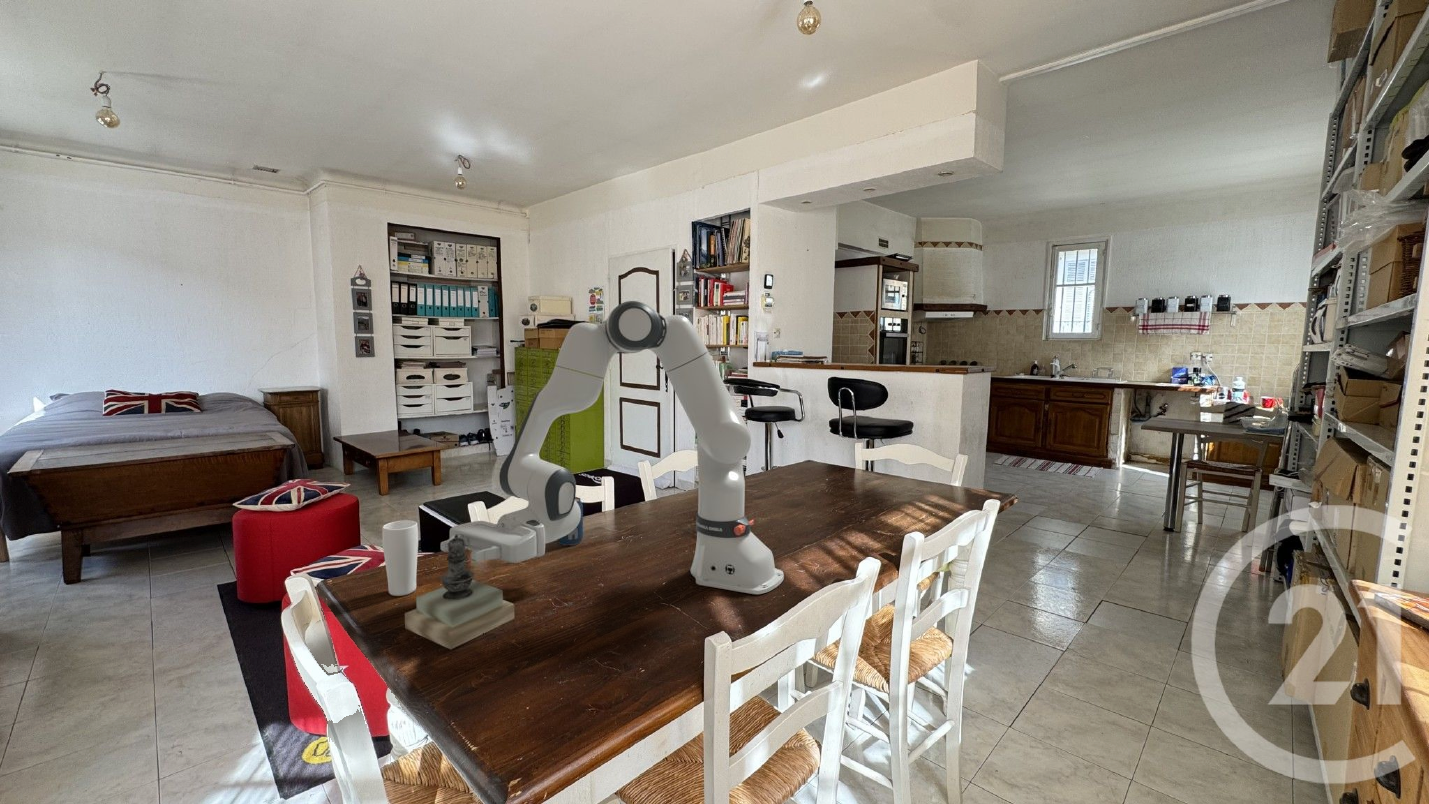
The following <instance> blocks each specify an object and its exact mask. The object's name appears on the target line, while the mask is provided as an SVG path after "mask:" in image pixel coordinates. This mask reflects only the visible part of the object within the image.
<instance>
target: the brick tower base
mask: <svg viewBox="0 0 1429 804" xmlns="http://www.w3.org/2000/svg"><path fill="white" fill-rule="evenodd" d="M468 588H469V589H471V590H472V591H473V593H472V595H471V596H469V597H467V598H464V599H461V600H446V599H444V598H443V594H444V593H445V592H447V591H448V590H447V589H445V588H444V586H441V587H439V588H438V589H437V588H436V589H434V590H432V591H428V592H426V593H424V594H421V595H418V596H416V598H415V599H416V602H415V603H416V608H415V609H412V610H410V611H408V612H404V625H405V626H404V629H405V630H408V631H410V632H412V633H414V634H417V635H418V636H421V637H423V638H425V639H427V640H429V641H430V642H434V643H436V644H438V645H440V646H442V647H445V648H447V649H448V650H453V649H455V648H456V647H458V646H461V645H464V644H465V643H467V642H469V641H471V640H473V639H475V638H478V637H479V636H481V635H484V634H485V633H488V632H490V631H491V630H494V629H496V628H498V627H500V626H502V625H504V624H506V623H508V622H510V621H513V620H514V619H515V604H514V603H512V602H511V601H510V602H509V601H507V600H504V595H503V593H504V591H503V589H500V588H498V587H494V586H491V585H489V584H486V583H483V582H481V581H477V580H474V579H472V582H471V584H470V586H469V587H468ZM483 633H484V634H483Z"/></svg>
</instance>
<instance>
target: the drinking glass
mask: <svg viewBox="0 0 1429 804" xmlns="http://www.w3.org/2000/svg"><path fill="white" fill-rule="evenodd" d="M382 550H383V556H384V557H383V558H384V564H385V570H386V576H387V577H386V578H387V585H388V593H389V595H391V596H393V597H401V596H406V595H409V594H412V593H413V592H415V591H416V589H417V570H418V568H417V567H418V552H419V551H418V550H419V528H418V522H416V521H415V520H405V519H403V520H397V521H392V522H389V523H386V524H384V525H383V526H382Z"/></svg>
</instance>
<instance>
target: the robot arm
mask: <svg viewBox="0 0 1429 804" xmlns="http://www.w3.org/2000/svg"><path fill="white" fill-rule="evenodd" d="M644 350H650V351H651V352H652V353H654V354H655V355H656V357H657V358H658V360H659V361H660V363H661V366H662V367H663V370H664V371H665V374H666V376H667V378H668V380H669V383H670V384H671V386H672V388H673V390H674V392H675V395H676V396H677V398H678V400H679V402H680V404H681V406H682V408H683V410H684V412H685V413H686V416H687V417H688V420H689V422H690V424H691V426H692V427H693V429H694V431H695V434H696V447H697V448H696V450H697V453H696V454H697V455H696V456H697V473H698V475H697V476H698V506H697V507H698V509H697V513H696V520H695V524H696V525H695V529H696V530H695V532H696V535H697V536H696V546H695V552H694V557H693V560H692V564H691V567H690V574H691V575H692V576H693V577H694V578H695V584H696V585H698V586H704V587H710V588H715V589H716V588H717V589H723V590H728V591H733V592H740V593H746V594H750V595H751V594H752V595H762V594H765V593H768V592H771V591H772V590H774V589H776V588H777V587H778V586H780V584H782V582H783V581H784V578H785V575H784V571H783V570H782V569H779V568H776V566H775V560H774V555H773V552H772V550H771V549H770V548H769V547H767V546H766V545H765V544H764V543H763V542H762V541H761V540H760V539H759V538H758V536H756V535H755V534H754V533H753V532H752V531H751V526H753V525H754V524H755V523H754V521H755V519H752V520H749V519H748V517H747V515H746V514H745V497H746V496H745V492H746V491H745V490H746V489H745V488H746V481H745V475H744V465H743V460H744V458H745V457H747V455H748V453H749V452H750V449H751V444H752V438H751V432H750V430H749V427H748V425H747V423H746V422H745V420H744V418H743V416H742V414H741V412H740V410H739V408H738V406H737V404H736V402H735V401H734V399H733V397H732V395H731V394H730V391H729V390H728V388H727V386H726V384H725V382H724V380H723V379H722V377H721V375H720V373H719V370H718V368H717V367H716V365H715V362H714V360H713V358H712V357H711V354H710V352H709V350H708V348H707V346H706V344H705V342H704V341H703V339H702V336H701V335H700V333H699V332H698V331H697V330H696V327H694V325H693V324H692V322H691V321H690V320H689V318H687V317H686V316H684V315H681V314H672V315H668V316H666V317H665V316H663V315H662V314H660V313H659V312H657V311H656V310H654V309H653V308H651V306H649V305H647V304H645V303H643V302H641V301H638V300H627V301H623V302H622V303H620V304H618V305H617V306H616V307H614V308H613V309H612V310H611V312H610V313H609V314H608V316H607V317H606V319H605V320H604V321H603V322H602V323H600V324H599V323H598V324H597V323H596V324H595V323H592V322H579V323H575V324H574V325H572V326H571V327H570V328H569V330H568V332H567V334H566V336H565V337H564V340H563V342H562V345H561V348H560V349H559V353H558V355H557V359H556V362H555V366H554V368H553V371H552V373H551V376H550V378H549V380H548V381H547V383H546V385H545V386H543V388H541V389H540V390H539V391H538V392H537V393H536V394H535V395H534V398H533V399H532V401H531V403H530V405H529V408H528V409H527V413H526V414H525V417H524V419H523V422H522V425H521V427H520V429H519V432H518V434H517V437H516V439H515V441H514V444H513V446H512V448H511V449H510V452H509V453H508V455H507V456H506V458H505V459H504V461H503V463H502V465H501V467H500V470H499V475H498V477H499V478H498V479H499V484H500V485H499V486H500V487H501V489H502V491H503V492H504V494H506V495H507V496H510V497H514V498H518V499H522V500H524V501H527V502H528V505H527V506H526V507H525V508H521V509H518V510H515V511H511V512H508V513H504V514H503V515H501V516H500V517H499V519H498V520H497V523H493V522H490V521H489V522H488V521H485V520H475V521H471V522H465V523H462V524H456V525H454V526H453V527H451V528H450V529H449V538H448V539H447V540H444V541H441V542H440V550H441V551H442V552H446V553H449V551H448V544H449V542H450V541H451V540H452V539H454V538H455V537H454V536H455V535H456V534H457V535H458V538H461V539H463V540H464V542H465V550H469V551H470V552H471V551H472V552H471V554H470V555H471V558H470V559H471V561H474V562H476V563H479V562H482V561H487V560H497V559H498V560H500V561H504V562H507V563H510V564H511V563H517V564H518V563H521V562H524V561H528V560H530V559H533V558H536V557H537V558H538V557H542V556H544V555H545V553H546V544H549V543H552V542H555V541H558V540H557V539H560V538H562V537H564V536H566V535H567V534H569V533H570V532H572V531H573V530H574V529H575V528H576V527H577V526H578V524H579V522H580V518H581V511H580V507H579V505H578V503H577V502H576V501H575V497H577V495H576V494H577V481H576V478H575V476H574V474H573V472H572V471H571V470H570V469H568V468H565V467H563V466H561V465H559V464H555V463H553V462H549V461H546V460H544V459H541V457H540V451H541V448H542V446H543V444H544V442H545V439H546V436H547V434H548V433H549V430H550V427H551V426H552V424H553V422H554V421H555V420H556V419H558V418H559V417H561V416H564V415H569V414H574V413H579V412H582V411H584V410H587V409H589V408H590V407H591V406H593V405H594V404H596V402H597V401H598V399H599V397H600V395H601V393H602V389H603V385H604V382H605V378H606V375H607V370H608V367H609V364H610V362H611V359H612V358H613V357H614V356H615V355H616V354H617V355H618V354H624V355H625V354H628V355H629V354H636V353H639V352H642V351H644Z"/></svg>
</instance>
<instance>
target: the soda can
mask: <svg viewBox="0 0 1429 804" xmlns="http://www.w3.org/2000/svg"><path fill="white" fill-rule="evenodd" d="M575 501H576V502H577V503H578V505H579V507H580V511H581V518H580V522H579V524H578V526H577V527H576V528H575V529H574V530H573V531H572V532H570V533H569V534H567V535H566V536H564V537H562V538H560V539H557V540H556V541H558V543H559V544H560V545H561V544H562V545H563V546H566V545H570V546H575V545H579V544H580V543H581V542H582V540H583V538H584V525H583V524H584V515H583V514H584V505H583V503H582V501H581V497H577V496H575ZM578 543H579V544H578Z"/></svg>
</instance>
